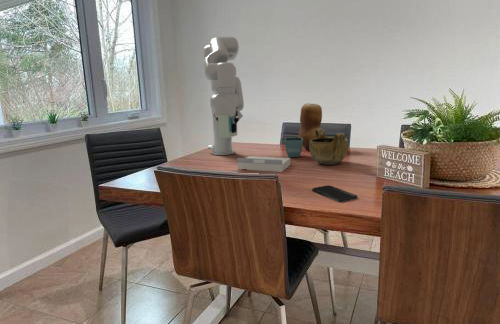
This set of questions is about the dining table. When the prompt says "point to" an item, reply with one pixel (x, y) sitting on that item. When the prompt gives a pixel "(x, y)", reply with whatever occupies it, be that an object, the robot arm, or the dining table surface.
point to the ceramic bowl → (328, 148)
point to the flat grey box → (263, 163)
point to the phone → (334, 193)
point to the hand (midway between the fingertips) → (228, 131)
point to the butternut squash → (309, 122)
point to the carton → (225, 126)
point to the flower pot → (293, 146)
